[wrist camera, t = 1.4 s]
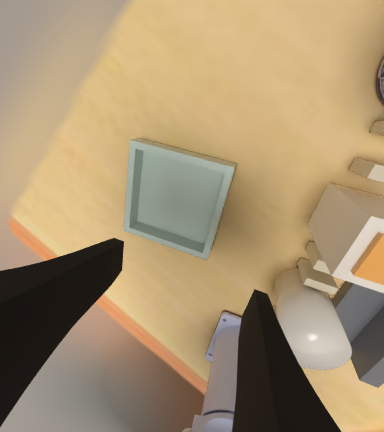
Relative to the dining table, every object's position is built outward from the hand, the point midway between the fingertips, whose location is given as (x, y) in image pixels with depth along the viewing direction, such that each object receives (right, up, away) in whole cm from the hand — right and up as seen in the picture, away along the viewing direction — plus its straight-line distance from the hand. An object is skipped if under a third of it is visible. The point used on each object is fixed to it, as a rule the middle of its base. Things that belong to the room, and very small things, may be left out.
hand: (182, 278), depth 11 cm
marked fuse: (+13, +4, +6) cm, 15 cm away
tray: (-1, +5, +10) cm, 11 cm away
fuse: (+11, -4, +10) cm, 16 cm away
